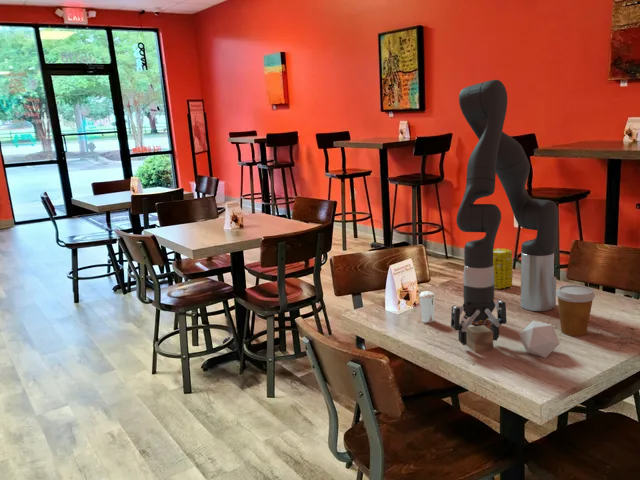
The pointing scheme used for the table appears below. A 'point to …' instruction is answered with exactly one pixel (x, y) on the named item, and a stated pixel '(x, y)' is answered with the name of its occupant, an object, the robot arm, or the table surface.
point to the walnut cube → (479, 338)
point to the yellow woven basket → (502, 268)
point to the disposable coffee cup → (574, 308)
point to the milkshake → (427, 306)
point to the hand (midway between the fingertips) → (478, 341)
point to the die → (539, 338)
